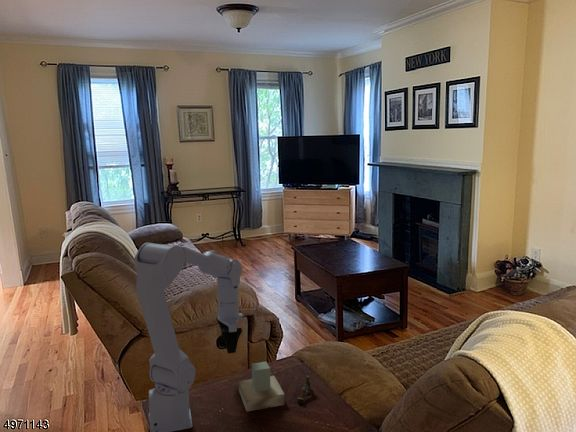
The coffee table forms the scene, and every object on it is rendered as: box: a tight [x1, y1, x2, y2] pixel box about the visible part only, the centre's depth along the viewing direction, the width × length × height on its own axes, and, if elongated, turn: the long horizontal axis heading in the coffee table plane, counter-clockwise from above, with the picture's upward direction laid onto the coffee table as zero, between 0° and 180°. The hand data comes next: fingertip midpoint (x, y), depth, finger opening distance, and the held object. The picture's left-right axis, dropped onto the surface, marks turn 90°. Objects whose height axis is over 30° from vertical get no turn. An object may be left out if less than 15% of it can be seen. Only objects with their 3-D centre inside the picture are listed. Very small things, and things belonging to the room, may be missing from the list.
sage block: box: [251, 361, 271, 392], centre depth 113 cm, size 4×4×6 cm
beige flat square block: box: [238, 375, 286, 412], centre depth 113 cm, size 10×10×3 cm
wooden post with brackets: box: [296, 375, 312, 404], centre depth 115 cm, size 2×8×4 cm, turn 159°
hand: (229, 346), depth 121 cm, fingers open, 7 cm apart
